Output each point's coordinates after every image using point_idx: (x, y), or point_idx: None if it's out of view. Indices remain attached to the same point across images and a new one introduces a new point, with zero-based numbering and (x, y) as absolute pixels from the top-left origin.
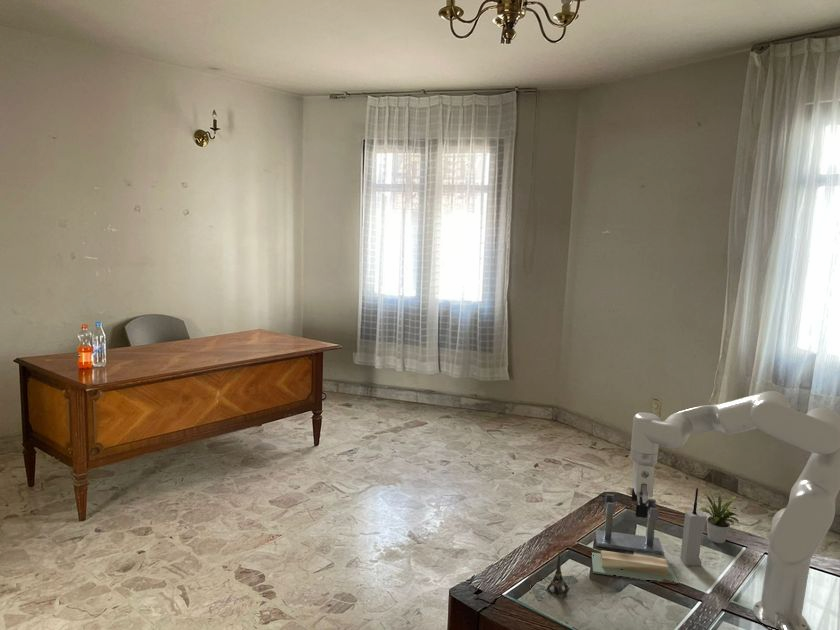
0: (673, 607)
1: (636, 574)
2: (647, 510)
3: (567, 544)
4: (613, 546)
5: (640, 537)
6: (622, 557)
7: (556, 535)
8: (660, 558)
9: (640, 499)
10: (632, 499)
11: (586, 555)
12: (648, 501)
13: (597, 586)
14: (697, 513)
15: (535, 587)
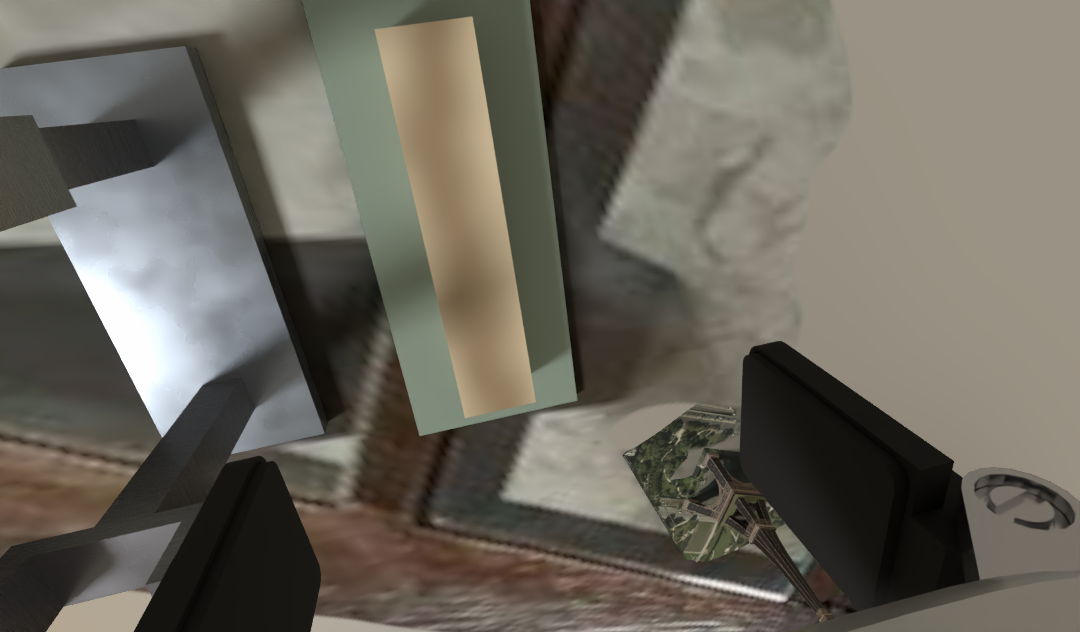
0: (734, 6)
1: (528, 209)
2: (862, 402)
3: (389, 531)
4: (298, 351)
5: (76, 210)
6: (488, 308)
7: (334, 586)
8: (387, 72)
9: (276, 505)
10: (318, 584)
11: (443, 445)
12: None
13: (666, 362)
14: None
15: (733, 540)
